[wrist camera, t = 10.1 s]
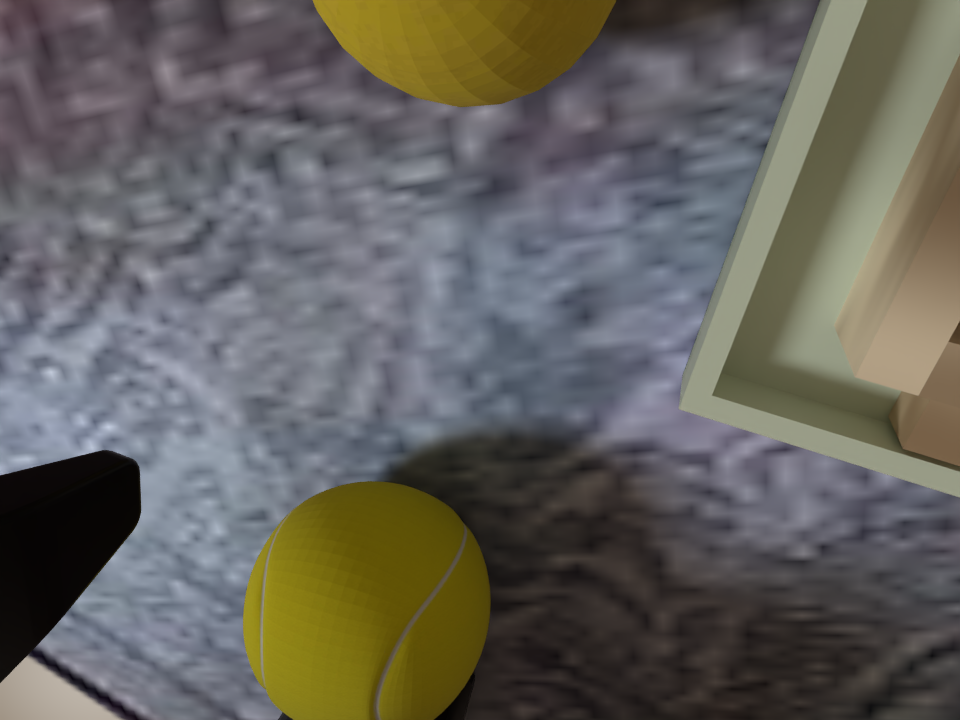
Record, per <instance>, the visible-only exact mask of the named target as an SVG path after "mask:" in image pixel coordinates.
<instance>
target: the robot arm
mask: <svg viewBox="0 0 960 720" xmlns="http://www.w3.org/2000/svg"><path fill="white" fill-rule="evenodd" d="M140 514H141V489H140V469H139V466H138V464H137V462H136V461H135V460H133V459H131V458H129V457H126V456H124V455H121V454H118V453H116V452H113V451H109V450H102V451H98V452H94V453H89V454H85V455H81V456H77V457H73V458H69V459H65V460H61V461H57V462H53V463H49V464H45V465H41V466H37V467H33V468H29V469H25V470H21V471H16V472H12V473H8V474H4V475H0V683H1V682H2V681H3V680H4V678H6V677H7V676H8V675H9V674H10V673H11V672H12V670H13V669H14V668H15V667H16V666H17V665H18V664H19V663H20V662H21V661H22V660H23V659H24V658H25V657H26V656H27V655H28V654H29V653H30V652H31V651H32V650H33V649H34V648H35V647H36V646H37V645H38V644H39V643H40V642H41V641H42V640H43V638H44V637H45V636H46V635H47V634H48V633H49V632H50V631H51V630H52V629H53V628H54V626H55V625H56V624H57V623H58V622H59V621H60V620H61V618H62V617H63V616H64V615H65V614H66V613H67V611H68V610H69V609H70V608H71V606H72V605H73V604H74V603H75V602H76V600H77V599H78V598H79V597H80V595H81V594H82V593H83V592H84V590H85V589H86V588H87V587H88V586H89V584H90V583H91V582H92V581H93V579H94V578H95V577H96V576H97V575H98V573H99V572H100V571H101V570H102V568H103V567H104V566H105V565H106V563H107V562H108V561H109V560H110V559H111V557H112V556H113V555H114V554H115V552H116V551H117V550H118V549H119V548H120V546H121V545H122V544H123V543H124V541H125V540H126V539H127V538H128V537H129V535H130V534H131V533H132V531H133V530H134V529H135V527H136V525H137V523H138V521H139V518H140ZM474 681H475V675H474V673H472V675H471V676H470V678H469V680H468V682H467V683H466V685H465V686H464V688H463V689H462V690H461V692H460V693H459V695H458V696H457V697H456V698H455V700H454V701H453V702H452V703H451V704H450V705H449V706H448V707H447V708H446V709H445V710H444V711H443V712H442V713H441V714H440V715H439V716H438V717H436V718H435V719H434V720H464V718H465V714H466V710H467V707H468V703H469V700H470V696H471V692H472V689H473V685H474ZM278 720H293V719H292V718H290V717H289V716H287V715H286V714H285V713H282V714H281V716H280V718H279V719H278Z"/></svg>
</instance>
